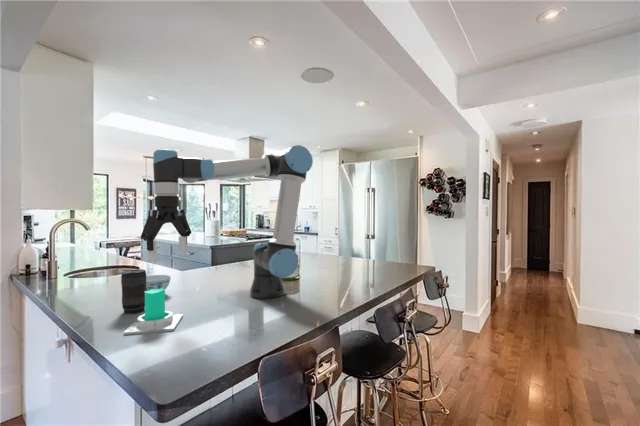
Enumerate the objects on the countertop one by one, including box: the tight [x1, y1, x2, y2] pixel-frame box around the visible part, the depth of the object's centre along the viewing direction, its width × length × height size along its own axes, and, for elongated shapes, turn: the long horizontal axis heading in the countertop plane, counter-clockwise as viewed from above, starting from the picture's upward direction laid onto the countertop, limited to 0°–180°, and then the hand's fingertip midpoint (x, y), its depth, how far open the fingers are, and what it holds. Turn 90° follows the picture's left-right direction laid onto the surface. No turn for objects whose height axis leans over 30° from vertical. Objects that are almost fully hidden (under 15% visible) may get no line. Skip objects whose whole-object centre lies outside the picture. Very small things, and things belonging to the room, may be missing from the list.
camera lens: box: [120, 268, 147, 315], centre depth 118 cm, size 8×8×15 cm
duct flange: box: [122, 310, 184, 336], centre depth 103 cm, size 14×14×3 cm
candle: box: [144, 288, 166, 320], centre depth 103 cm, size 6×6×12 cm
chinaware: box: [146, 274, 172, 291], centre depth 140 cm, size 15×15×8 cm
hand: (168, 257), depth 108 cm, fingers open, 13 cm apart
